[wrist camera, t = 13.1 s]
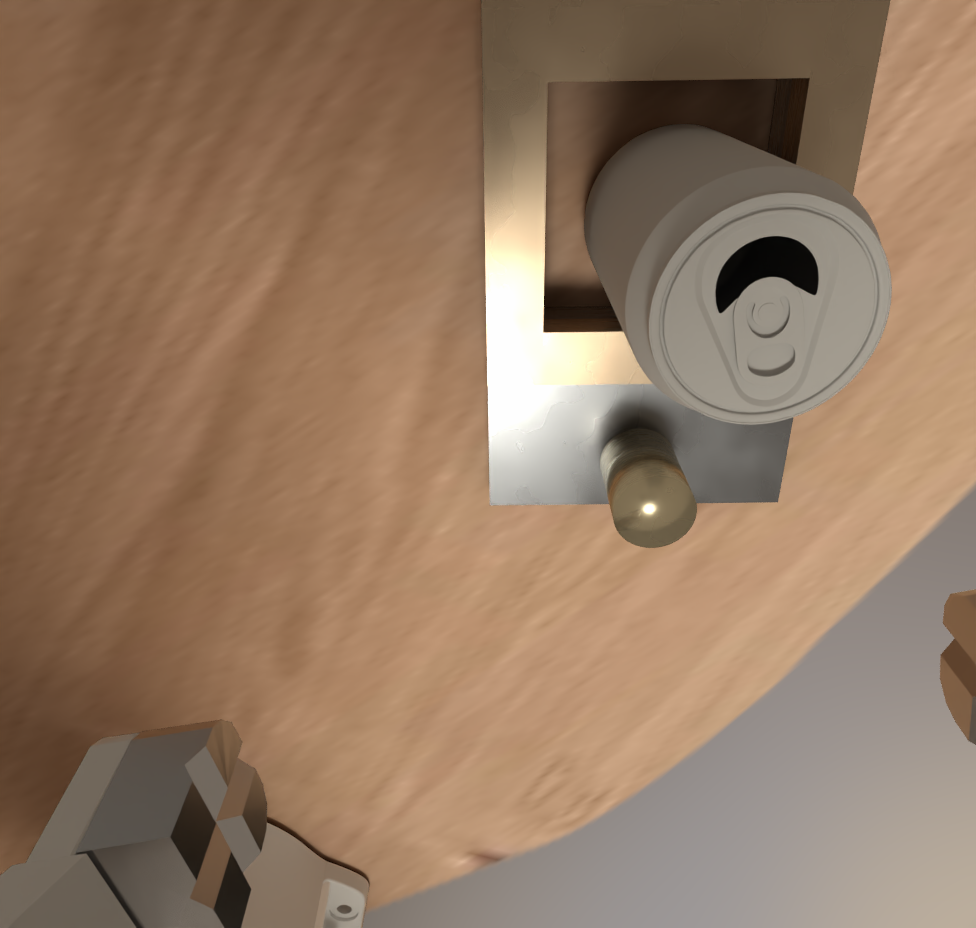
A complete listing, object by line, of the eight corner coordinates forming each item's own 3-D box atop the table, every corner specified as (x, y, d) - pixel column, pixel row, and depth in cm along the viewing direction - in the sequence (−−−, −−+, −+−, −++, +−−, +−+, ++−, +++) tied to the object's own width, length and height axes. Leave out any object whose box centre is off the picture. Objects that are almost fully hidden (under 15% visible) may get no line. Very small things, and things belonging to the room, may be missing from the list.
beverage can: (752, 103, 27) (917, 144, 17) (760, 283, 30) (905, 415, 20) (569, 143, 28) (617, 207, 17) (594, 316, 31) (648, 460, 20)
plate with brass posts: (766, 484, 34) (827, 581, 28) (489, 487, 35) (489, 584, 28) (890, -233, 23) (1035, -332, 17) (478, -225, 23) (473, -320, 17)
